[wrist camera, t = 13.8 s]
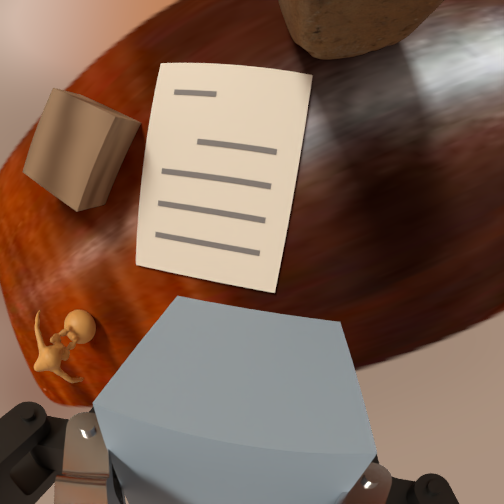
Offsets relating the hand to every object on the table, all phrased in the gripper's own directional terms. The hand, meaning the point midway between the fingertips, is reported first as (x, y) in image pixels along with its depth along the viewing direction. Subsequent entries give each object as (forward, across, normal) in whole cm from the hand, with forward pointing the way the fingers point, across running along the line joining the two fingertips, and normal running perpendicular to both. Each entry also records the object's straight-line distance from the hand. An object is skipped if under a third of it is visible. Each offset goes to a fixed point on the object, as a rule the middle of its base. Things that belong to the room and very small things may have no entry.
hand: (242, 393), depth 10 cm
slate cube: (+1, 0, 0) cm, 1 cm away
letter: (+18, +6, -7) cm, 20 cm away
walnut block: (+18, +20, -9) cm, 28 cm away
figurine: (+18, +19, +11) cm, 29 cm away
